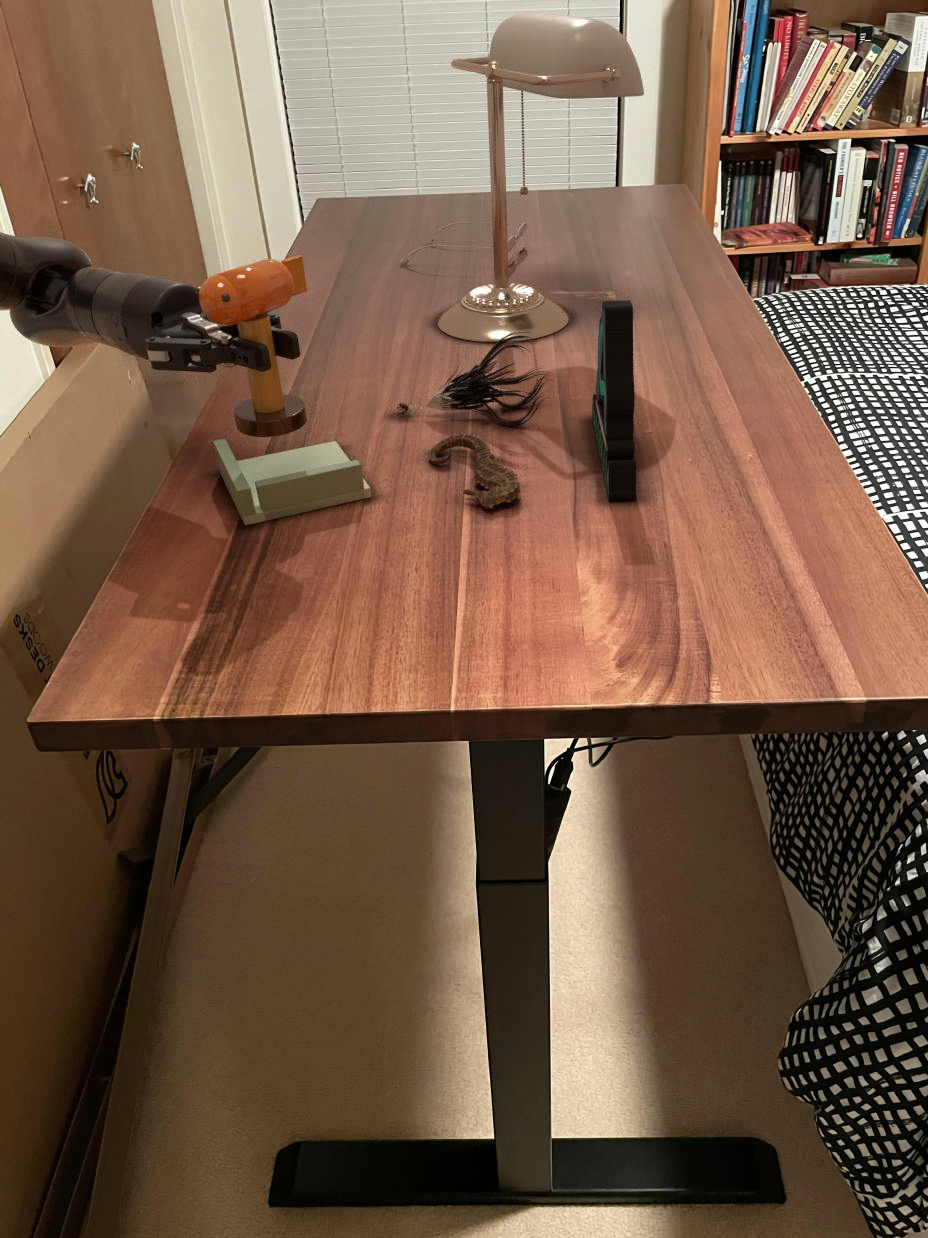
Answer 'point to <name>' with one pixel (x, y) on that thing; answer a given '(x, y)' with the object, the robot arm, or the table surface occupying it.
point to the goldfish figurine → (258, 336)
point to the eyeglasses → (510, 245)
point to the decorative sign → (616, 400)
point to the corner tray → (290, 481)
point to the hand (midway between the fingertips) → (280, 352)
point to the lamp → (545, 65)
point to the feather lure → (485, 387)
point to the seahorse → (482, 470)
